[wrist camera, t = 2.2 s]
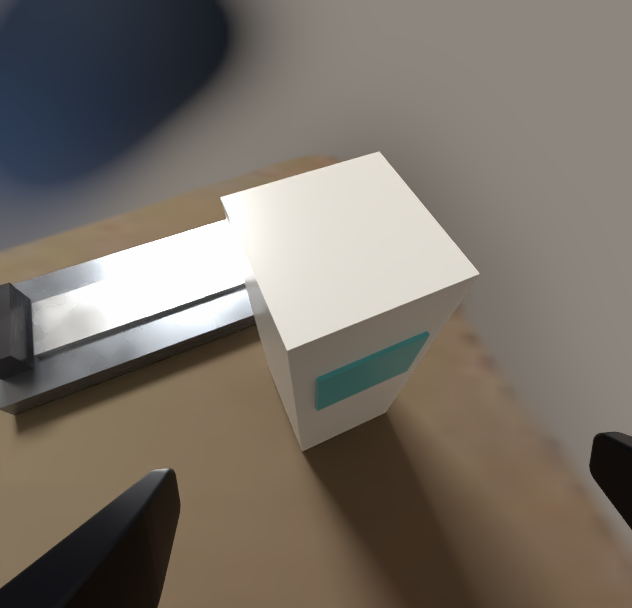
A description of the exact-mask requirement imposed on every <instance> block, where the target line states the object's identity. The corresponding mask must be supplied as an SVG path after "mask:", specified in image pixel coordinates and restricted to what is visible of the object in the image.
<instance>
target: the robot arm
mask: <svg viewBox="0 0 632 608" xmlns="http://www.w3.org/2000/svg"><path fill="white" fill-rule="evenodd" d="M589 467H590V472H591V474H592V476H593V478H594V479H595V481H596V482H597V484H598V485H599V486H600V488H601V489H602V490H603V492H604V493H605V495H606V496H607V497H608V499H609V500H610V501H611V503H612V504H613V505H614V507H615V508H616V509H617V511H618V512H619V513H620V515H621V516H622V517H623V519H624V520H625V521H626V523H627V524H628V525H629V527H630V528H631V529H632V436H628V435H626V434H623V433H619V432H606V433H599V434H597V435H596V436H595V437H594V439H593V445H592V452H591V458H590V464H589ZM179 514H180V498H179V491H178V485H177V479H176V474H175V472H174V470H173V469H171V468H169V469H156V470H152V471H151V472H149V473H148V474H147V475H145V476H144V477H143V478H141V479H140V480H139V481H138V482H136V483H135V484H134V485H133V486H131V487H130V488H129V489H127V490H126V491H125V492H124V493H122V494H121V495H120V496H118V497H117V498H116V499H115V500H113V501H112V502H111V503H109V504H108V505H107V506H106V507H104V508H103V509H102V510H100V511H99V512H98V513H97V514H95V515H94V516H93V517H91V518H90V519H89V520H88V521H86V522H85V523H84V524H82V525H81V526H80V527H79V528H77V529H76V530H75V531H73V532H72V533H71V534H70V535H68V536H67V537H66V538H65V539H63V540H62V541H61V542H59V543H58V544H57V545H56V546H54V547H53V548H52V549H50V550H49V551H48V552H47V553H45V554H44V555H43V556H41V557H40V558H39V559H38V560H36V561H35V562H34V563H32V564H31V565H30V566H29V567H27V568H26V569H25V570H23V571H22V572H21V573H20V574H18V575H17V576H16V577H14V578H13V579H12V580H11V581H9V582H8V583H7V584H5V585H4V586H3V587H2V588H0V608H157V607H158V604H159V601H160V597H161V593H162V589H163V585H164V581H165V576H166V572H167V568H168V563H169V559H170V554H171V550H172V546H173V541H174V537H175V532H176V528H177V524H178V519H179Z"/></svg>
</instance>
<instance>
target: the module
mask: <svg viewBox="0 0 632 608" xmlns="http://www.w3.org/2000/svg"><path fill="white" fill-rule="evenodd" d="M220 198H221V202H222V205H223V209H224V212H225V216H226V219H227V223H228V226H229V230H230V233H231V237H232V240H233V244H234V247H235V251H236V254H237V258H238V261H239V265H240V268H241V272H242V276H243V279H244V283H245V286H246V290H247V293H248V297H249V300H250V304H251V307H252V311H253V314H254V318H255V321H256V325H257V328H258V332H259V335H260V339H261V343H262V346H263V350H264V353H265V357H266V360H267V364H268V367H269V370H270V372H271V375H272V377H273V380H274V383H275V385H276V388H277V390H278V393H279V395H280V398H281V400H282V403H283V405H284V408H285V410H286V413H287V415H288V418H289V420H290V423H291V425H292V428H293V430H294V433H295V435H296V438H297V440H298V443H299V445H300V448H301V451H305V450H307V449H309V448H311V447H313V446H315V445H317V444H320V443H322V442H324V441H326V440H328V439H330V438H332V437H335V436H337V435H339V434H341V433H343V432H345V431H347V430H349V429H352V428H354V427H356V426H358V425H360V424H362V423H364V422H367V421H369V420H371V419H373V418H375V417H377V416H379V415H382V414H384V413H386V412H387V410H388V409H389V407H390V406H391V404H392V403H393V401H394V400H395V398H396V397H397V396H398V394H399V393H400V391H401V390H402V388H403V387H404V385H405V384H406V382H407V381H408V379H409V378H410V376H411V375H412V373H413V372H414V370H415V369H416V367H417V366H418V365H419V363H420V362H421V360H422V359H423V357H424V356H425V354H426V353H427V351H428V350H429V348H430V347H431V345H432V344H433V342H434V341H435V339H436V338H437V336H438V335H439V333H440V332H441V331H442V329H443V328H444V326H445V325H446V323H447V322H448V320H449V319H450V317H451V316H452V314H453V313H454V311H455V310H456V308H457V307H458V305H459V304H460V302H461V301H462V299H463V298H464V297H465V295H466V294H467V292H468V291H469V289H470V288H471V286H472V285H473V283H474V282H475V280H476V279H477V277H478V276H479V272H478V271H477V270H476V269H475V268H474V266H473V265H472V264H471V262H470V261H469V260H468V259H467V258H466V256H465V255H464V254H463V253H462V252H461V250H460V249H459V248H458V247H457V245H456V244H455V243H454V242H453V241H452V239H451V238H450V237H449V236H448V235H447V233H446V232H445V231H444V230H443V228H442V227H441V226H440V225H439V224H438V222H437V221H436V220H435V219H434V218H433V216H432V215H431V214H430V213H429V211H428V210H427V209H426V208H425V207H424V205H423V204H422V203H421V202H420V200H419V199H418V198H417V197H416V196H415V194H414V193H413V192H412V191H411V190H410V188H409V187H408V186H407V185H406V183H405V182H404V181H403V180H402V179H401V177H400V176H399V175H398V174H397V173H396V172H395V170H394V169H393V168H392V167H391V165H390V164H389V163H388V162H387V160H386V159H385V158H384V157H383V156H382V155H381V153H380V152H376V153H372V154H369V155H365V156H362V157H358V158H355V159H352V160H348V161H344V162H341V163H338V164H334V165H331V166H327V167H324V168H320V169H317V170H313V171H310V172H306V173H303V174H300V175H296V176H293V177H289V178H286V179H282V180H279V181H275V182H272V183H268V184H265V185H262V186H258V187H255V188H251V189H248V190H244V191H241V192H237V193H234V194H230V195H227V196H224V197H220Z"/></svg>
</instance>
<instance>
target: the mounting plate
mask: <svg viewBox="0 0 632 608" xmlns="http://www.w3.org/2000/svg"><path fill="white" fill-rule="evenodd" d="M255 324H256V321H255V318H254V314H253V311H252V307H251V304H250V300H249V297H248V293H247V290H246V286H245V283H244V279H243V276H242V272H241V268H240V265H239V261H238V258H237V254H236V251H235V247H234V244H233V240H232V237H231V233H230V230H229V226H228V223H227V220H223V221H220V222H217V223H214V224H210V225H207V226H204V227H200V228H197V229H194V230H191V231H187V232H184V233H181V234H177V235H174V236H171V237H167V238H164V239H161V240H158V241H154V242H151V243H148V244H144V245H141V246H138V247H135V248H131V249H128V250H125V251H121V252H118V253H115V254H112V255H108V256H105V257H102V258H98V259H95V260H92V261H89V262H85V263H82V264H79V265H75V266H72V267H69V268H66V269H62V270H59V271H56V272H52V273H49V274H46V275H42V276H39V277H36V278H33V279H29V280H26V281H23V282H19V283H16V284H13V285H12V284H11V283H7V284H3V285H0V410H2V411H5V412H8V413H10V414H13V415H15V414H18V413H21V412H23V411H26V410H29V409H31V408H34V407H37V406H39V405H42V404H45V403H47V402H50V401H53V400H55V399H58V398H61V397H63V396H66V395H69V394H71V393H74V392H77V391H79V390H82V389H85V388H87V387H90V386H93V385H95V384H98V383H101V382H103V381H106V380H109V379H111V378H114V377H117V376H119V375H122V374H125V373H127V372H130V371H133V370H135V369H138V368H141V367H143V366H146V365H149V364H151V363H154V362H157V361H159V360H162V359H165V358H167V357H170V356H173V355H175V354H178V353H181V352H183V351H186V350H189V349H191V348H194V347H197V346H199V345H202V344H205V343H207V342H210V341H213V340H215V339H218V338H221V337H223V336H226V335H229V334H231V333H234V332H237V331H239V330H242V329H245V328H247V327H250V326H253V325H255Z"/></svg>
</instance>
